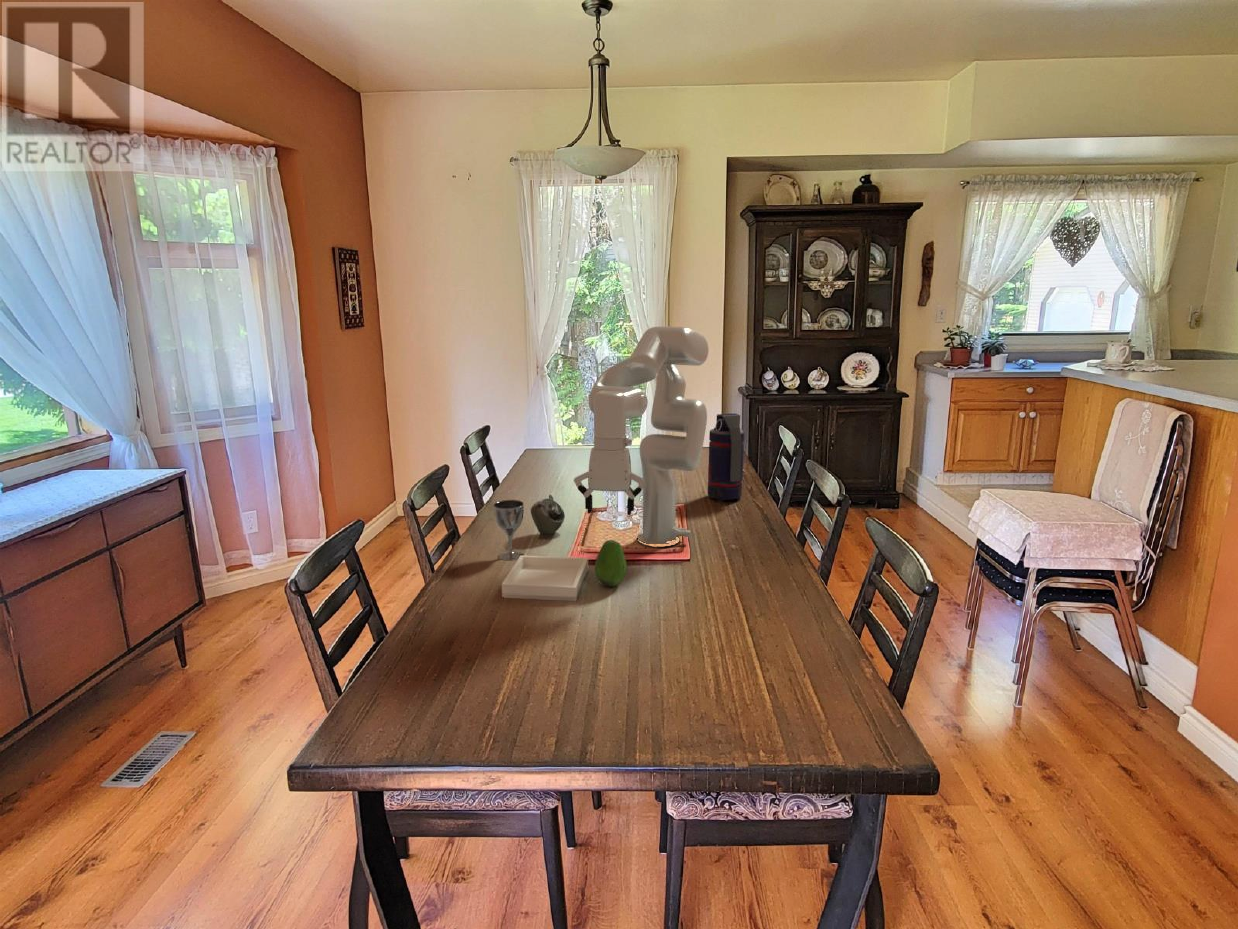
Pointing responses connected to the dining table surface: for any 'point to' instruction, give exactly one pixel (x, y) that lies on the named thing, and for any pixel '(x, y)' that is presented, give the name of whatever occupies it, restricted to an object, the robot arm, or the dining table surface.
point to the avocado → (610, 564)
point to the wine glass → (509, 523)
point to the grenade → (726, 458)
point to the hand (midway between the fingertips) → (609, 512)
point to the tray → (546, 578)
